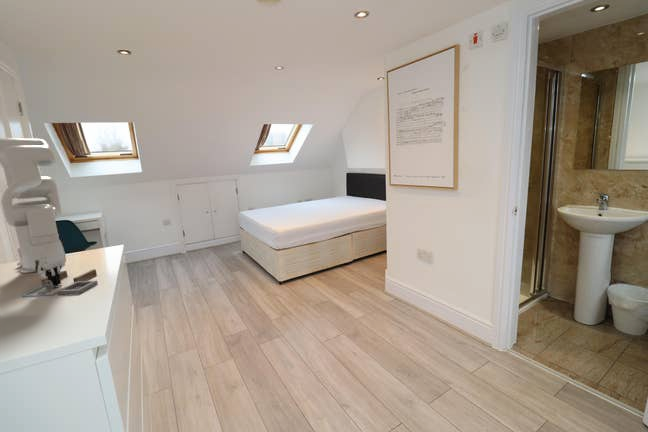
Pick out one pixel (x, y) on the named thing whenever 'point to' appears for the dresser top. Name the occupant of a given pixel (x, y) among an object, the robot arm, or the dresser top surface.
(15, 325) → the dresser top surface
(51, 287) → the strap clip
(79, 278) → the walled tunnel
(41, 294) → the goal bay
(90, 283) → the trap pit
